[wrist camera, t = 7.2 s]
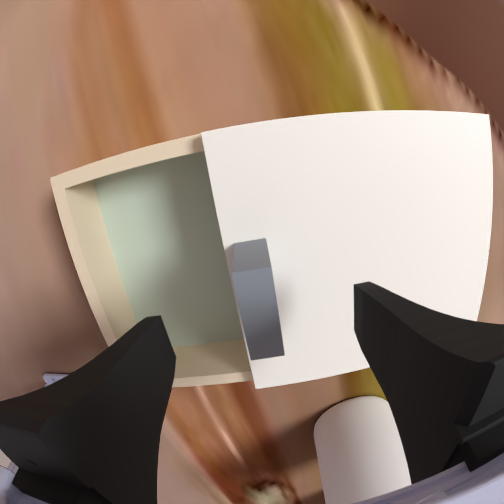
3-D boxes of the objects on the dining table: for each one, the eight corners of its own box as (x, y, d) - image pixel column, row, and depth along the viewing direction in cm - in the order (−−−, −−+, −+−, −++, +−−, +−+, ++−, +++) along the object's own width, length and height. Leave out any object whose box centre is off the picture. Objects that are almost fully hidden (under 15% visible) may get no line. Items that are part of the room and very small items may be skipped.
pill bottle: (313, 400, 24) (347, 560, 10) (398, 385, 24) (460, 519, 10) (308, 447, 27) (329, 573, 13) (380, 434, 27) (420, 547, 12)
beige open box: (144, 352, 22) (129, 388, 18) (84, 169, 17) (50, 178, 13) (343, 325, 21) (360, 360, 17) (326, 118, 16) (347, 113, 12)
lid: (255, 383, 17) (257, 430, 14) (202, 132, 12) (186, 129, 9) (469, 330, 17) (498, 360, 13) (483, 114, 12) (529, 116, 8)
